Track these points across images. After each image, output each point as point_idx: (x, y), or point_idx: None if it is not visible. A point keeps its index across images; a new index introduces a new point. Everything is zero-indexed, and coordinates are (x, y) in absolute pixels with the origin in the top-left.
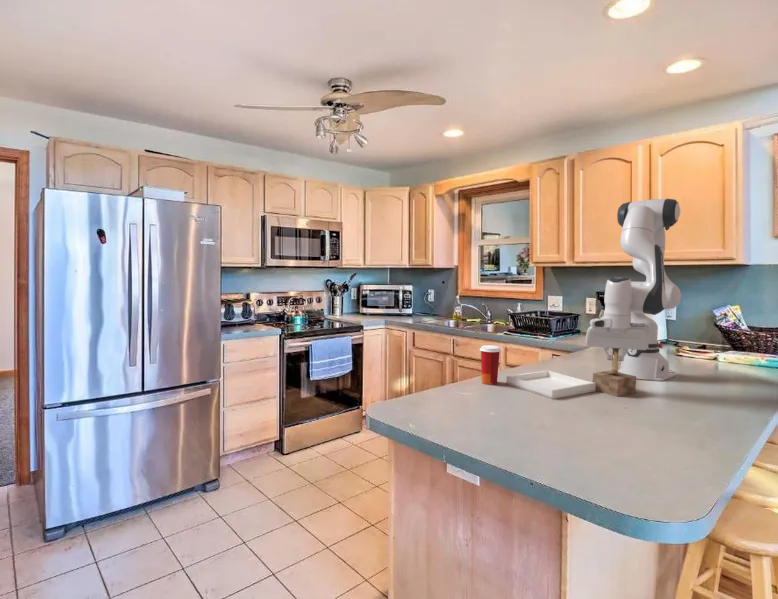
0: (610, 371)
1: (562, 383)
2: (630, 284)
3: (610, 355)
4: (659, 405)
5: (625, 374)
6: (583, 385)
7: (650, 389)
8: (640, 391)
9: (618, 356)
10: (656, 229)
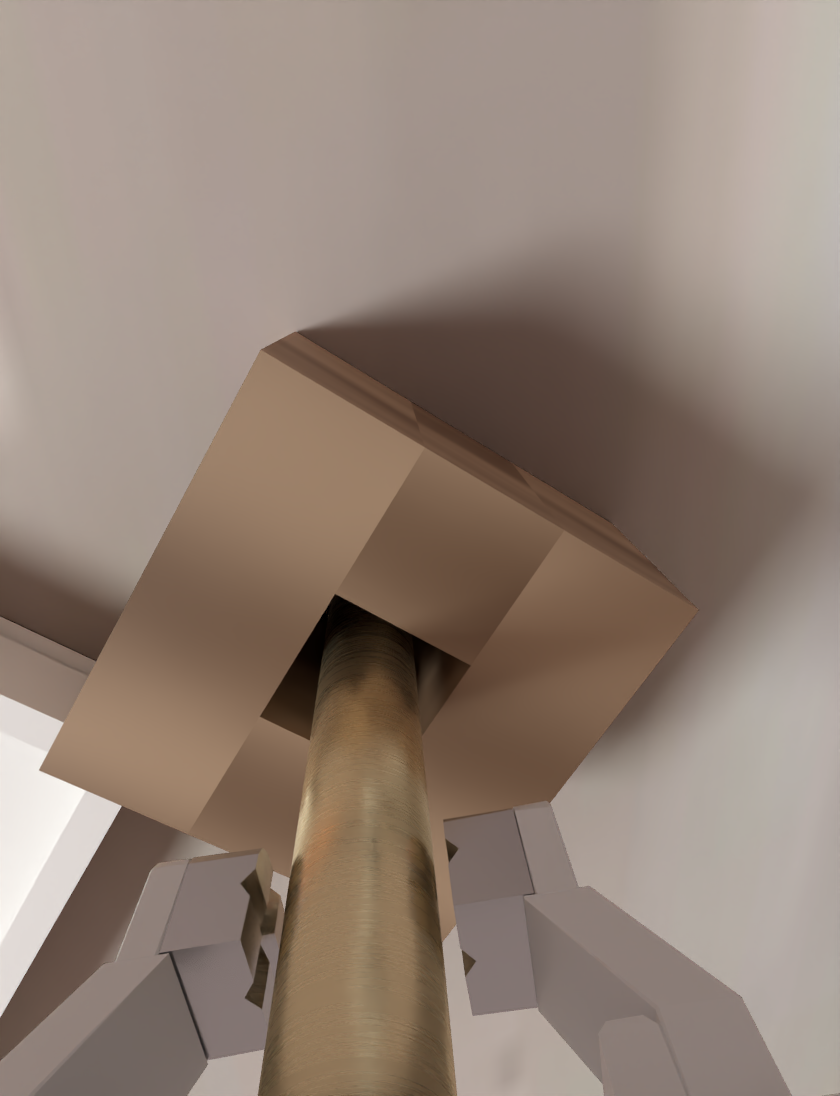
0: (270, 451)
1: None
2: None
3: (234, 1038)
4: (790, 868)
5: (536, 562)
6: (51, 927)
7: (826, 190)
8: (679, 401)
9: (442, 965)
10: None
